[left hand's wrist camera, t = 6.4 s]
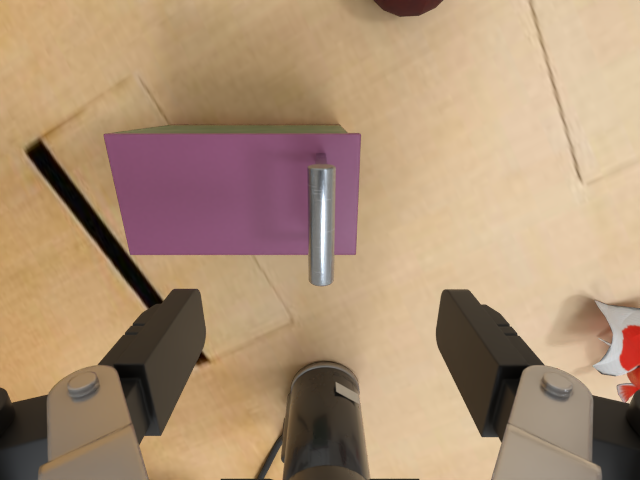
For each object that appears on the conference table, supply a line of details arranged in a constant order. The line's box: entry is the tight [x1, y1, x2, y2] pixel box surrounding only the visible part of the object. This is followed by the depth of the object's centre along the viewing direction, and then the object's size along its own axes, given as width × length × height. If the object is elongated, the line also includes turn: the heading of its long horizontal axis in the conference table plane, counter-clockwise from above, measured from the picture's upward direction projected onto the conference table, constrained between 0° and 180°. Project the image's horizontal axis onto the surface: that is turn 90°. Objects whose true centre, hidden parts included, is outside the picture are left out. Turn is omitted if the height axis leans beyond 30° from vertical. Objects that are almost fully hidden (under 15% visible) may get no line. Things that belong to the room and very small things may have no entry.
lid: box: [104, 133, 361, 286], centre depth 22 cm, size 18×9×8 cm, turn 90°
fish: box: [593, 300, 640, 403], centre depth 41 cm, size 11×16×10 cm
